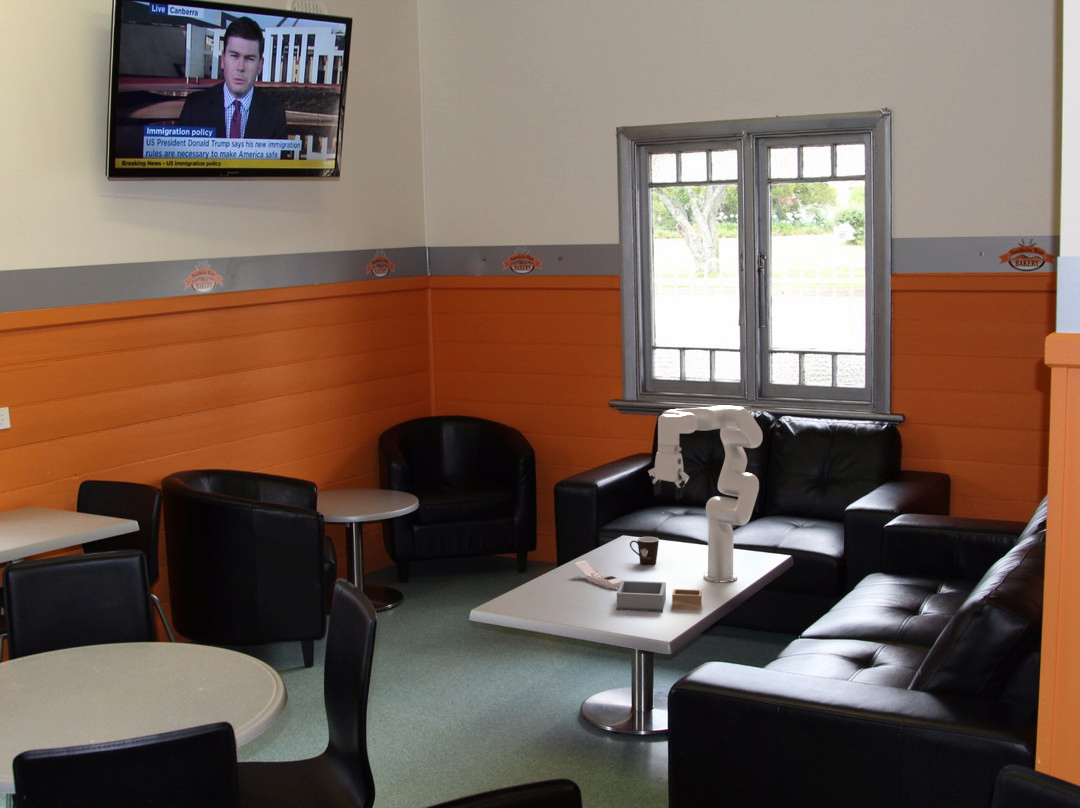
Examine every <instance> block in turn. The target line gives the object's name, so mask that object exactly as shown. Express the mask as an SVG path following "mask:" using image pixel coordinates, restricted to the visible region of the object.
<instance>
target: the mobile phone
mask: <svg viewBox="0 0 1080 808" xmlns="http://www.w3.org/2000/svg"><path fill="white" fill-rule="evenodd" d="M590 563H591V562H589V560H587V559H584V560H580V561H579V560H578V561H576V562H574V564H575V565H576V566H577V567H578V569H579V570H580V571H581V572H582V573H583V575H584V576H585V577H586V580H587V582H590V581H591V582H590V583H592V582H594V583H593V584H595V583H597V584H596V585H598V584H599V586H601V585H602V586H601V587H604V586H605V587H604V588H606V587H608V588H607V589H611V588H612V590H615V591H618V589H619V586H620V583H621V581H623V580H622V579H620V578H618V577H616V576H614V575H611V576H610V575H607V574H604V573H600V572H597V570H595V568H594V567H593V566H592V565H591V564H590Z"/></svg>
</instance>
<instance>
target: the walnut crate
mask: <svg viewBox="0 0 1080 808" xmlns="http://www.w3.org/2000/svg"><path fill="white" fill-rule="evenodd" d="M702 592H703V591H702V589H682V588H680V589H679V588H673V589H672V594H671V601H672V602H671V606H672V607H671V609H674V610H694V609H701V610H702V603H703V602H702V601H703V599H702V598H703V595H702Z"/></svg>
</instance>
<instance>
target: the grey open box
mask: <svg viewBox="0 0 1080 808" xmlns="http://www.w3.org/2000/svg"><path fill="white" fill-rule="evenodd" d="M666 586H667V583H666V581H665V582H664V581H642V580H622V581H621V583H620V586H619V587H618V590H616V591H617V592H616V610H617V611H628V610H630V611H631V612H650V613H651V612H655V613H664V608H665V603H666V597H667V595H666V594H667V593H666V591H667V587H666ZM630 611H629V612H630Z"/></svg>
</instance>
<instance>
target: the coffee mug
mask: <svg viewBox="0 0 1080 808" xmlns="http://www.w3.org/2000/svg"><path fill="white" fill-rule="evenodd" d="M659 541H660V539H659V538H658V537H655V536H642V537H638V538H637V539H636V540H631V541H630V542H629V547H630V548H631V549H630V550H632V551H633V553H635V554H636V555H637V556H639V565H641V566H644V565H645V566H646V565H653V566H656V565H657V558H658V551H659ZM632 543H636V544H637V549H638V552H637V550H635V549H634V548H633V547H632V545H633V544H632ZM655 564H656V565H655ZM646 567H647V566H646Z"/></svg>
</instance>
